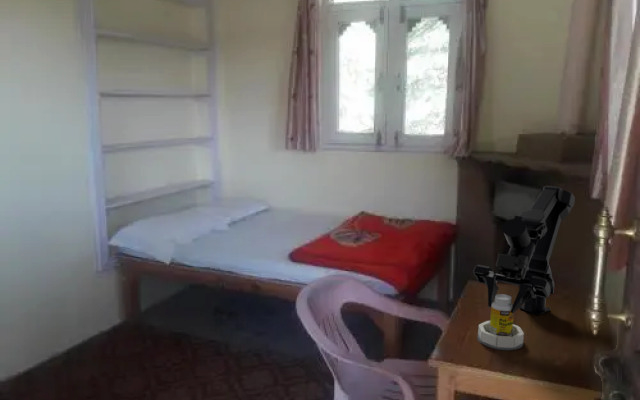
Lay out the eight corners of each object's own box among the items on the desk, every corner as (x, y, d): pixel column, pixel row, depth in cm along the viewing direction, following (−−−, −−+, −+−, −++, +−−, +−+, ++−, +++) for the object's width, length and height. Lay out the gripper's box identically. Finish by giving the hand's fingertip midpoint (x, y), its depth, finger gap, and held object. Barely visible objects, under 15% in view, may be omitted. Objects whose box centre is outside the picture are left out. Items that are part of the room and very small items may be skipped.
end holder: (493, 327, 145) (494, 316, 144) (531, 341, 136) (532, 330, 136) (468, 338, 138) (469, 327, 137) (507, 354, 129) (508, 342, 129)
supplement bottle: (496, 340, 134) (499, 301, 132) (485, 330, 139) (487, 293, 137) (516, 337, 135) (519, 299, 133) (504, 328, 140) (506, 291, 138)
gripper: (477, 235, 141) (457, 286, 135) (550, 247, 129) (532, 304, 123) (487, 256, 148) (468, 306, 142) (557, 270, 137) (540, 324, 131)
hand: (500, 309), depth 134 cm, fingers closed on supplement bottle, 5 cm apart
